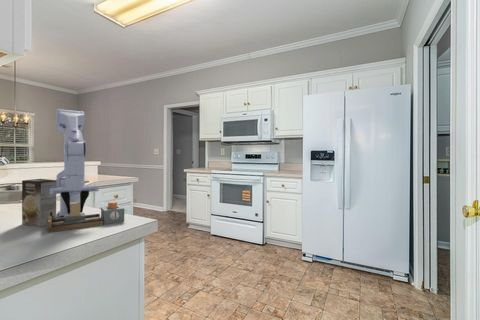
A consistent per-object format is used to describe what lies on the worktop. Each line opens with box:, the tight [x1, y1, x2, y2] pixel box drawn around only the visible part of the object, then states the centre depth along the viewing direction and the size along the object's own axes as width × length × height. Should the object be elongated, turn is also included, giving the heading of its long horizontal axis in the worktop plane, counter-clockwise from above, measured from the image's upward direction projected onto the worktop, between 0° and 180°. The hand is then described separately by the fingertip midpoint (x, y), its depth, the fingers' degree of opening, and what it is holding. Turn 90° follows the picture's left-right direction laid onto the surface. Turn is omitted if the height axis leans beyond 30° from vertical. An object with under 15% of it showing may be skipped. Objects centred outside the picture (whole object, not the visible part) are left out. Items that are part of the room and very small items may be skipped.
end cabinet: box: [100, 204, 125, 225], centre depth 97 cm, size 8×7×5 cm
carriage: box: [64, 202, 86, 222], centre depth 89 cm, size 5×6×6 cm
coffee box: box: [21, 178, 57, 228], centre depth 91 cm, size 9×6×16 cm
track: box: [47, 213, 104, 233], centre depth 90 cm, size 9×16×4 cm, turn 127°
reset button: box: [107, 201, 118, 209], centre depth 97 cm, size 3×3×4 cm
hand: (75, 212), depth 89 cm, fingers closed on carriage, 3 cm apart
